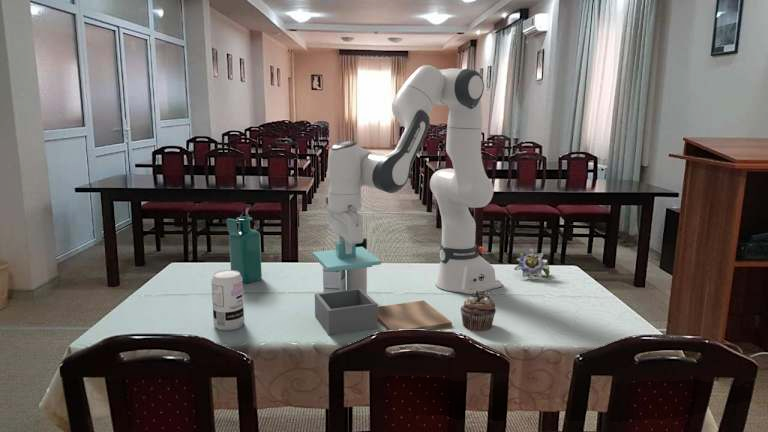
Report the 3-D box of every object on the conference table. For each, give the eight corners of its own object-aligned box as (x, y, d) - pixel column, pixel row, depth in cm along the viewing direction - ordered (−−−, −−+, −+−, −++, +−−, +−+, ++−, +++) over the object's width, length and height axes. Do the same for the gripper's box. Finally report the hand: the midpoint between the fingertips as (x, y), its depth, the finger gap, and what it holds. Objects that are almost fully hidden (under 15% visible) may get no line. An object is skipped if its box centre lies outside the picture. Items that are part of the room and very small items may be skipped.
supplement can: (217, 320, 164) (214, 269, 161) (246, 319, 165) (244, 269, 161) (211, 331, 156) (208, 279, 153) (242, 331, 157) (239, 278, 153)
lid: (362, 253, 169) (362, 233, 168) (381, 267, 156) (381, 246, 154) (312, 258, 164) (312, 238, 162) (327, 274, 150) (326, 252, 149)
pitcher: (247, 273, 205) (245, 213, 200) (264, 278, 200) (262, 216, 195) (225, 280, 197) (222, 218, 192) (242, 285, 192) (239, 221, 187)
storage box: (360, 310, 172) (360, 288, 171) (377, 328, 160) (377, 304, 158) (315, 316, 167) (314, 293, 166) (328, 335, 154) (328, 310, 153)
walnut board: (423, 304, 178) (423, 300, 177) (451, 326, 161) (451, 322, 161) (369, 311, 171) (369, 307, 171) (392, 335, 155) (392, 331, 155)
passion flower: (529, 293, 204) (513, 269, 200) (522, 278, 214) (506, 254, 210) (558, 278, 201) (542, 252, 197) (549, 263, 211) (534, 239, 207)
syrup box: (341, 305, 176) (341, 259, 173) (322, 303, 177) (322, 258, 174) (346, 298, 182) (346, 254, 179) (328, 297, 183) (327, 253, 180)
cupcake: (490, 318, 167) (492, 286, 165) (497, 332, 158) (499, 298, 155) (457, 318, 167) (458, 286, 165) (463, 332, 157) (464, 298, 155)
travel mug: (352, 304, 177) (352, 241, 173) (343, 297, 183) (343, 236, 178) (370, 301, 180) (370, 239, 175) (361, 294, 185) (361, 234, 181)
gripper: (369, 208, 148) (369, 260, 151) (344, 194, 166) (345, 241, 169) (345, 211, 145) (346, 263, 148) (323, 196, 164) (324, 243, 167)
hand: (345, 251), depth 159 cm, fingers closed on lid, 2 cm apart
